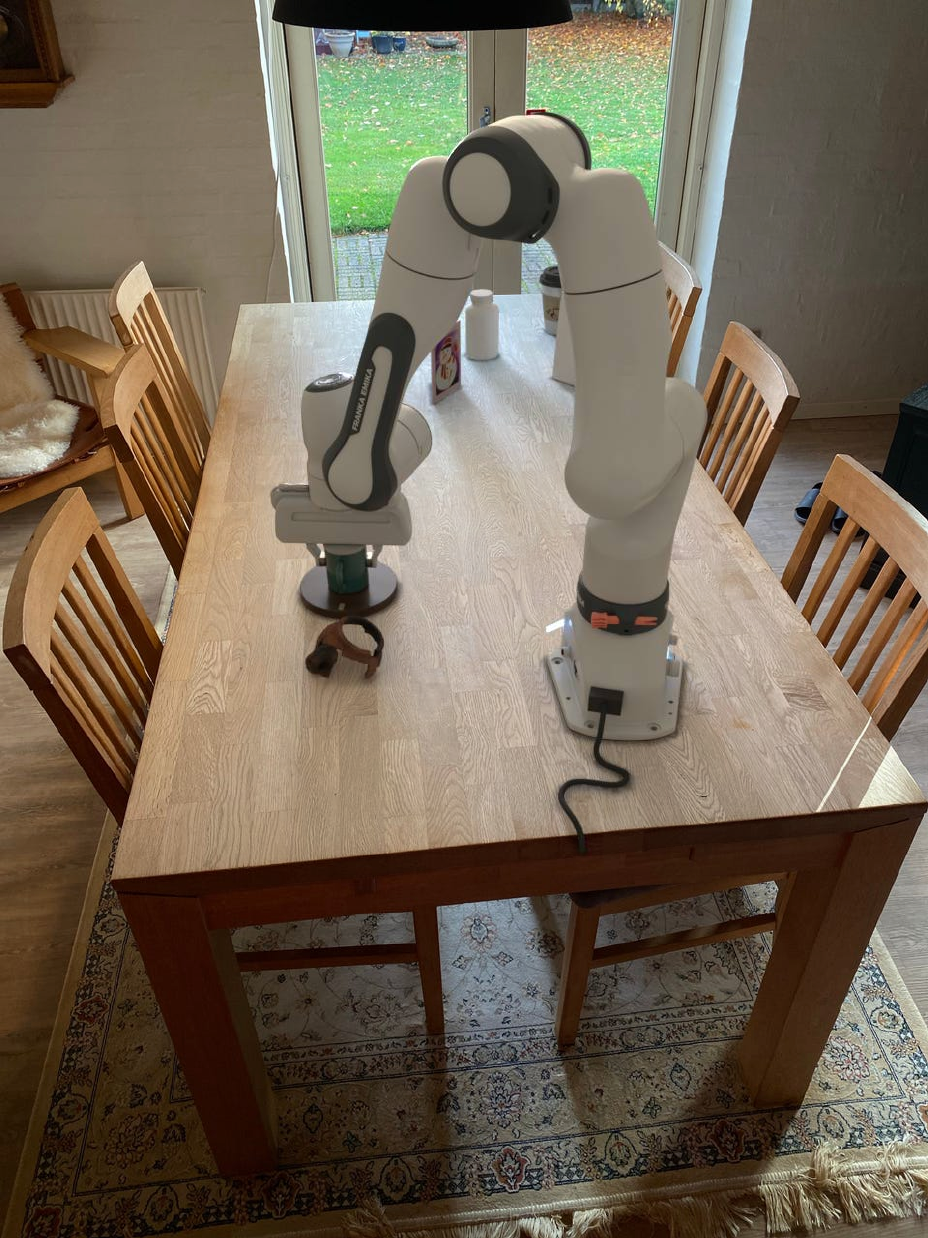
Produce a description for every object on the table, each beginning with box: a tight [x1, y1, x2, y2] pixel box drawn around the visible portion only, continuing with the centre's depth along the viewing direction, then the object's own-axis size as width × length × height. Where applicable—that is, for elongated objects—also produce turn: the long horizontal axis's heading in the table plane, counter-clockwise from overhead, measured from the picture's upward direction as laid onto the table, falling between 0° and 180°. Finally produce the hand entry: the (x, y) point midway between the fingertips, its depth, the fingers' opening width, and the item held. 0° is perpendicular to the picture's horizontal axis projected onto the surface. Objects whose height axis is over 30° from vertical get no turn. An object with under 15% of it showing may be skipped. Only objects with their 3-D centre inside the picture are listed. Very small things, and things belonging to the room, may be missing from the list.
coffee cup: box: [538, 264, 563, 336], centre depth 235 cm, size 11×11×15 cm
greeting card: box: [430, 320, 462, 405], centre depth 204 cm, size 11×7×15 cm, turn 148°
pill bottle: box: [464, 288, 500, 361], centre depth 222 cm, size 8×8×15 cm
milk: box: [551, 294, 575, 387], centre depth 207 cm, size 12×12×26 cm
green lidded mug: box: [322, 544, 369, 594], centre depth 142 cm, size 7×9×8 cm
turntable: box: [299, 560, 398, 620], centre depth 145 cm, size 15×15×2 cm
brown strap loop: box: [304, 615, 385, 679], centre depth 129 cm, size 12×10×8 cm
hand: (347, 565), depth 143 cm, fingers closed on green lidded mug, 6 cm apart
